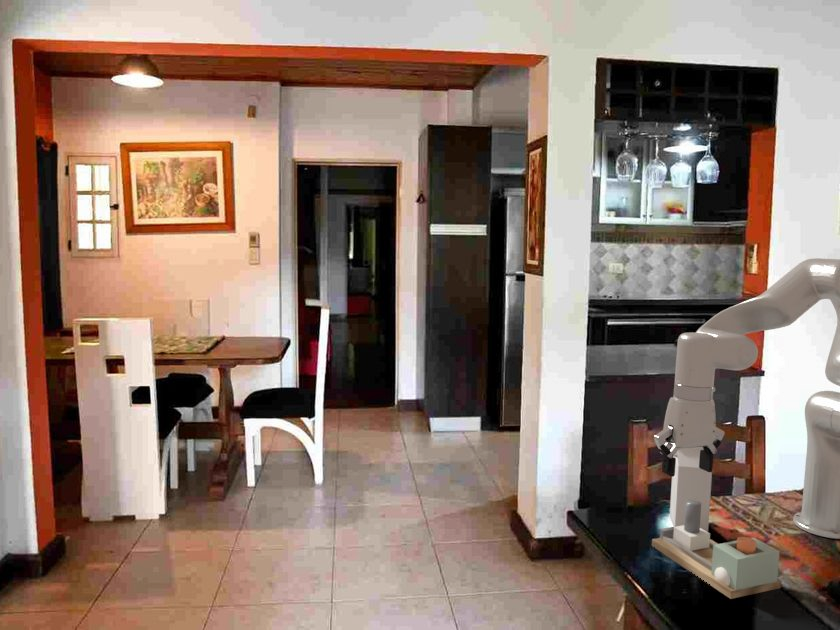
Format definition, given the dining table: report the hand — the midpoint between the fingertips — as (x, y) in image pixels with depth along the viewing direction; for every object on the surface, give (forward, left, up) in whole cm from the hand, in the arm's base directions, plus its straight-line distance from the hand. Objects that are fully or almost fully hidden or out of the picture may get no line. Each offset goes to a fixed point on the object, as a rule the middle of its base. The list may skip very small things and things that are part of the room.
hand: (686, 472), depth 139 cm
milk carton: (-10, -9, -17) cm, 22 cm away
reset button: (-1, +16, -11) cm, 19 cm away
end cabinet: (-1, +16, -17) cm, 23 cm away
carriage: (-1, +2, -15) cm, 15 cm away
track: (-1, +8, -17) cm, 19 cm away
